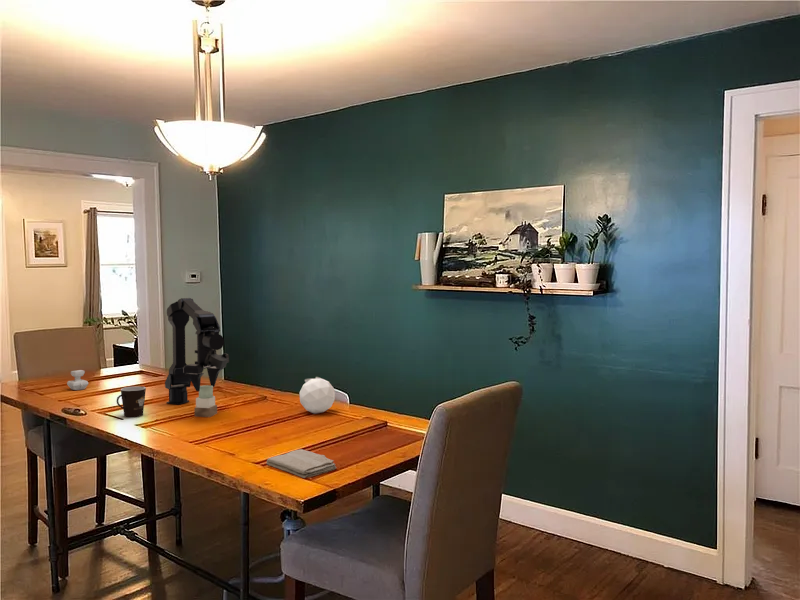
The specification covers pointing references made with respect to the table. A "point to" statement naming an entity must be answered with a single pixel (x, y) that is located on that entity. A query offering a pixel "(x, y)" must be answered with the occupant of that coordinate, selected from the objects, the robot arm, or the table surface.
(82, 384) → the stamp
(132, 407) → the coffee mug
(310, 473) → the washcloth
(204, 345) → the robot arm
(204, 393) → the grey domed cylinder
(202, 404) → the tower top block
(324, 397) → the geodesic sphere
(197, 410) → the tower base block
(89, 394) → the table surface
